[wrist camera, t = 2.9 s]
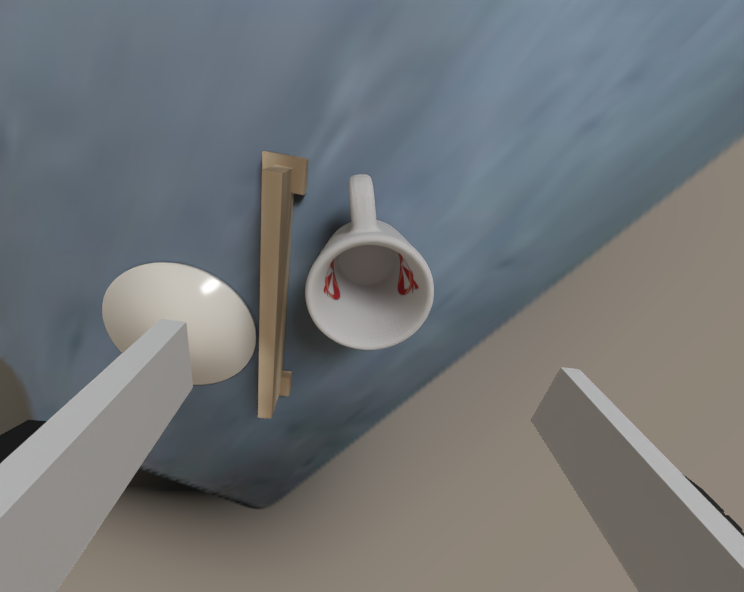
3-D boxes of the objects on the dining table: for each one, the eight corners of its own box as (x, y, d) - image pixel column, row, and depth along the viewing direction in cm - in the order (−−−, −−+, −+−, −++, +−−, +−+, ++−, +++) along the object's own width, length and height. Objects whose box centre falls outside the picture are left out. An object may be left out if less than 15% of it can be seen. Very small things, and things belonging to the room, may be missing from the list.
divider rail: (261, 386, 32) (247, 421, 28) (266, 150, 22) (246, 153, 18) (290, 389, 32) (281, 424, 28) (308, 159, 22) (298, 163, 18)
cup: (305, 172, 23) (282, 187, 15) (412, 163, 23) (438, 175, 16) (325, 300, 28) (315, 356, 20) (413, 293, 28) (433, 346, 21)
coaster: (120, 374, 30) (117, 377, 30) (90, 250, 24) (85, 252, 24) (256, 387, 32) (255, 390, 31) (257, 273, 26) (256, 275, 26)
